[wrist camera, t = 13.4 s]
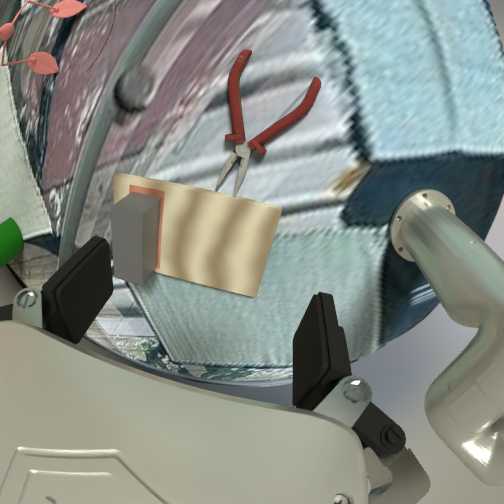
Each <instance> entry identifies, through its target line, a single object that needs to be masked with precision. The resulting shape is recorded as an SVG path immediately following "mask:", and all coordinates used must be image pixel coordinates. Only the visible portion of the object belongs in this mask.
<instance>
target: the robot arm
mask: <svg viewBox="0 0 504 504" xmlns="http://www.w3.org/2000/svg"><path fill="white" fill-rule="evenodd" d="M390 238H391V242H392V245H393V247H394V249H395V250H396V252H397V253H398V254H399V255H400V256H401V257H402V258H404V259H406V260H408V261H412V262H415V263H416V264H417V266H418V267H419V269H420V270H421V272H422V273H423V275H424V276H425V278H426V279H427V281H428V283H429V284H430V286H431V287H432V289H433V291H434V292H435V294H436V296H437V297H438V299H439V301H440V302H441V304H442V305H443V307H444V309H445V311H446V312H447V314H448V315H449V317H450V318H451V319H452V320H453V321H455V322H456V323H458V324H460V325H463V326H467V327H473V328H479V329H478V332H477V334H476V335H475V337H474V338H473V339H472V340H471V342H470V343H469V344H468V346H467V347H466V348H465V349H464V350H463V351H462V352H461V353H460V354H459V355H458V356H457V357H456V358H455V359H454V360H453V361H452V363H451V364H450V365H449V366H448V367H447V368H446V369H445V370H444V371H443V372H442V373H441V374H440V375H439V376H438V377H437V378H436V379H435V380H434V381H433V382H432V384H431V385H430V387H429V388H428V390H427V393H426V396H425V412H426V416H427V418H428V421H429V423H430V425H431V426H432V428H433V430H434V431H435V433H436V434H437V435H438V436H439V438H440V439H441V440H442V441H443V442H444V443H445V444H446V445H447V447H448V448H449V449H450V450H451V451H452V452H453V453H454V454H455V455H456V456H457V457H458V458H459V459H460V460H461V461H462V462H463V464H464V465H465V466H466V467H467V468H468V469H469V470H470V471H471V472H472V473H473V474H474V475H475V476H476V477H477V478H478V479H479V480H480V481H481V482H482V483H484V484H486V485H490V486H501V485H504V261H503V260H502V259H501V258H500V257H499V256H498V255H497V254H496V253H495V252H494V251H493V250H492V249H491V248H490V247H489V246H488V245H487V244H486V243H485V242H484V241H483V240H482V239H481V238H480V237H479V236H478V235H476V234H475V233H474V232H473V231H472V230H471V229H470V228H469V227H468V226H467V225H465V224H464V223H463V222H462V221H461V220H460V219H459V218H457V217H456V216H455V211H454V208H453V205H452V203H451V202H450V200H449V199H448V198H447V197H446V196H445V195H444V194H442V193H441V192H439V191H437V190H434V189H421V190H417V191H415V192H413V193H411V194H410V195H408V196H407V197H406V198H405V199H404V200H403V201H402V202H401V203H400V204H399V205H398V207H397V208H396V210H395V212H394V214H393V216H392V220H391V223H390ZM42 288H43V289H42V291H41V292H40V291H39V290H38V289H36V288H25V289H23V290H21V291H20V292H18V294H16V296H15V298H14V302H13V304H10V305H6V306H2V307H0V504H416V503H417V502H418V501H419V500H420V499H421V498H423V497H424V496H425V495H426V493H427V492H428V491H429V488H430V479H429V477H428V475H427V473H426V472H425V471H424V469H423V467H422V466H421V464H420V463H419V462H418V460H417V458H416V457H415V455H414V454H413V452H412V451H411V449H406V447H405V442H406V437H405V433H404V431H403V430H402V428H401V427H400V426H399V425H397V424H396V423H395V422H394V421H393V420H392V419H390V418H389V417H388V416H387V415H386V414H385V413H383V412H382V411H381V410H380V409H379V408H378V407H376V406H375V405H374V404H373V403H372V402H371V398H372V391H371V388H370V386H369V384H368V383H367V382H366V381H365V380H363V379H362V378H360V377H357V376H352V373H351V367H350V361H349V355H348V350H347V344H346V339H345V334H344V330H343V328H342V327H341V326H339V325H338V320H337V315H336V310H335V305H334V300H333V296H332V295H331V294H327V293H322V292H319V293H318V295H316V294H314V295H313V297H312V299H311V301H310V303H309V306H308V308H307V310H306V312H305V314H304V316H303V318H302V320H301V322H300V325H299V327H298V329H297V331H296V333H295V335H294V338H293V401H292V402H293V405H294V406H296V408H294V407H289V406H284V405H277V404H271V403H265V402H260V401H255V400H250V399H245V398H239V397H234V396H230V395H225V394H221V393H217V392H212V391H208V390H204V389H200V388H197V387H193V386H189V385H186V384H182V383H179V382H175V381H172V380H168V379H165V378H162V377H159V376H156V375H152V374H149V373H147V372H144V371H141V370H138V369H135V368H131V367H130V366H127V365H124V364H122V363H119V362H116V361H114V360H111V359H109V358H106V357H104V356H101V355H99V354H96V353H94V352H92V351H89V350H87V349H85V348H83V347H80V346H78V345H76V344H78V343H79V342H80V340H81V338H82V337H83V336H84V334H85V333H86V331H87V330H88V328H89V327H90V325H91V324H92V322H93V321H94V319H95V318H96V316H97V315H98V313H99V312H100V311H101V309H102V308H103V306H104V305H105V303H106V302H107V301H108V299H109V298H110V296H111V295H112V293H113V281H112V271H111V261H110V249H109V243H107V241H106V239H105V238H101V237H98V236H94V237H92V238H91V239H90V240H89V241H88V242H87V243H86V244H85V245H83V246H82V247H81V248H80V249H79V250H78V251H77V252H76V253H75V254H74V255H73V256H72V257H71V258H70V259H69V260H68V261H67V262H66V263H64V264H63V265H62V266H61V267H60V268H59V269H58V270H57V271H56V272H55V273H54V275H53V276H52V277H51V278H50V279H49V280H48V281H47V282H46V283H45V284H44V285H43V286H42ZM367 473H368V475H367ZM367 479H369V481H370V484H371V491H370V493H369V495H368V480H367Z"/></svg>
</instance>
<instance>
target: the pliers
mask: <svg viewBox="0 0 504 504" xmlns="http://www.w3.org/2000/svg"><path fill="white" fill-rule="evenodd" d="M251 54H252V51H251V50H243V51H242V52H241V53H240V54H239V56H238V58H237V59H236V61H235V63H234V65H233V67H232V69H231V71H230V73H229V77H228V94H229V102H230V110H231V117H232V125H233V133H234V134H227V135H225V139H226V140H234V139H235V143H237V144H236V148H235V149H234V151H233V152H232V153H231V155H230V156H229V158H228V159H227V161H226V162H225V164H224V166H223V169H222V172H221V174H220V177H219V180H218V183H217V186H216V189H217V188H218V186H219V184H220V183H221V181H222V180H223V178H224V177H225V175H226V174H227V172H228V171H229V169H230V168H231V166H232V165H233V164H234V162H235V160H236V159H237V157H238V156H241V157H242V158H241V163H240V167H239V171H238V176H237V181H236V186H235V191H234V197H235V195H236V193H237V191H238V189H239V187H240V185H241V183H242V180H243V178H244V176H245V174H246V171H247V167H248V163H249V159H250V153H251V150H254V149H257V150H258V151H259V152H260V153H261V154H262V155H263V154H265V153H266V152H267V150H266V149H265V147H264V146H263V145H262V144H264V143H265V142H267V141H268V140H270V139H271V138H272V137H274V136H275V135H277V134H278V133H280V132H281V131H283V130H284V129H285V128H287V127H288V126H290V125H291V124H293V123H294V122H296V121H297V120H299V119H300V118H301V117H303V116H304V115H305V114H306V113H307V112H308V111H309V110H310V109H311V108H312V106H313V104H314V102H315V99H316V97H317V95H318V92H319V90H320V88H321V81H320V79H319V78H317V77H314V79H313V81H312V83H311V85H310V87H309V89H308V92H307V94H306V96H305V98H304V100H303V101H302V103H301V104H300V105H299V106H298V107H297V108H296V109H295V110H293V111H292V112H291V113H289V114H288V115H286V116H285V117H283V118H282V119H280V120H279V121H277V122H276V123H274V124H273V125H271V126H270V127H269V128H267V129H266V130H264V131H263V132H262V133H260V134H259V135H257V136H256V137H255V138H253V139H252V140H251V141H249V142H248V141H246V140H245V131H244V123H243V115H242V107H241V99H240V91H239V82H240V77H241V74H242V71H243V69H244V67H245V65H246V63H247V61H248V59H249V58H250V56H251ZM216 189H215V190H216ZM234 197H233V198H234Z"/></svg>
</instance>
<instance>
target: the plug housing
mask: <svg viewBox="0 0 504 504" xmlns="http://www.w3.org/2000/svg"><path fill="white" fill-rule="evenodd" d="M160 208H161V197H157V196H153V195H148V194H143V193H138V192H133V191H132V192H131V193H129V194H128V195H127V196H125V197H124V198H122V199H121V200H120V201H118V202H117V203H115V204H114V205H113V206H111V227H112V247H113V261H114V272H115V278H118V279H122V280H125V281H128V282H131V283H134V284H138V285H141V286H143V285H144V283H145V282H146V280H147V279H148V277H149V276H150V274H151V273H152V271H153V270H154V268H155V267H156V265H157V264H158V240H159V222H160Z"/></svg>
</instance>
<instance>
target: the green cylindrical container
mask: <svg viewBox="0 0 504 504" xmlns="http://www.w3.org/2000/svg"><path fill="white" fill-rule="evenodd" d="M22 249H23V238H22V235H21V232H20V229H19V227H18V226H17V224H16V222H15V221H14V220H13V219H12V218H9V219H8V220H6V221H5V222H3V223H2V224H0V269H1V268H2V267H3V266H4V265H5V264H7V263H8V262H9V261H10V260H11V259H12V258H13V257H15V256H16V255H17V254H18V253H19V252H21V251H22Z"/></svg>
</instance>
